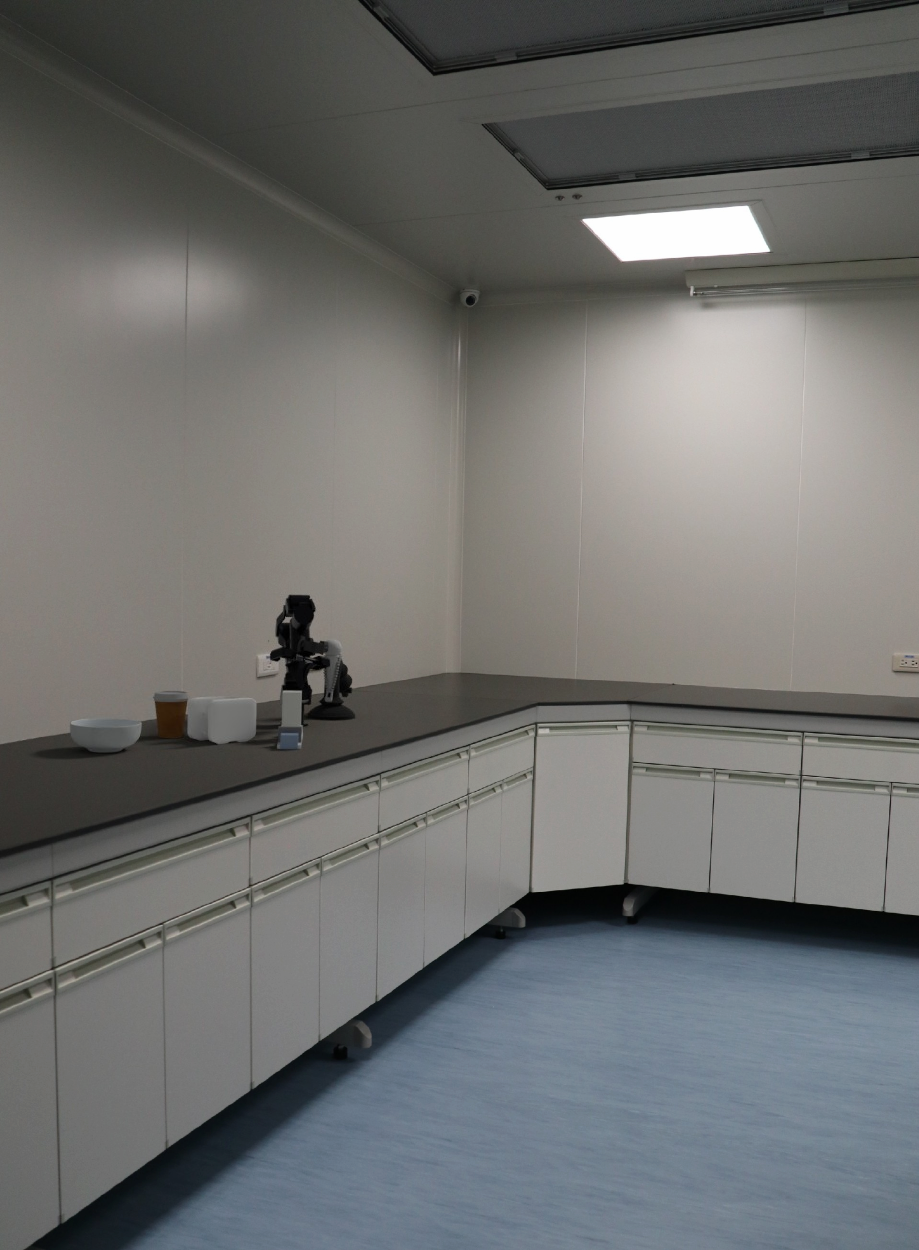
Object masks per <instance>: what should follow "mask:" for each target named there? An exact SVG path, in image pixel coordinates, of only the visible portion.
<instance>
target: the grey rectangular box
mask: <svg viewBox="0 0 919 1250" xmlns="http://www.w3.org/2000/svg"><path fill="white" fill-rule="evenodd" d="M301 701H303V700H302V691H283V695H282V705H281V722H282V724H281V725H282V726H301Z"/></svg>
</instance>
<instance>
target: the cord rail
mask: <svg viewBox="0 0 919 1250" xmlns="http://www.w3.org/2000/svg"><path fill="white" fill-rule="evenodd" d="M303 727H304V726H303V725H301V726H282V724H281V725H280V726H279V725H278V727H277V728H278V731H277V733H278V734H277V744H276V749H277V750H301V749H302V744H303V738H304V732H303V731H304V730H303Z"/></svg>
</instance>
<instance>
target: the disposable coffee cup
mask: <svg viewBox="0 0 919 1250" xmlns="http://www.w3.org/2000/svg"><path fill="white" fill-rule="evenodd" d="M152 699H153V702H154V706H155V716H156V724H157V733H158V738H160V739H161V738H162V739H178V738H182V737H183V735H184V729H185V728H184V727H185V722H186V721H185V720H186V714H187V709H188V702H189V699H190V696H189V693H188V691H183V690H182V691H181V690H162V691H160V690H159V691H155V692H154V696H152Z"/></svg>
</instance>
